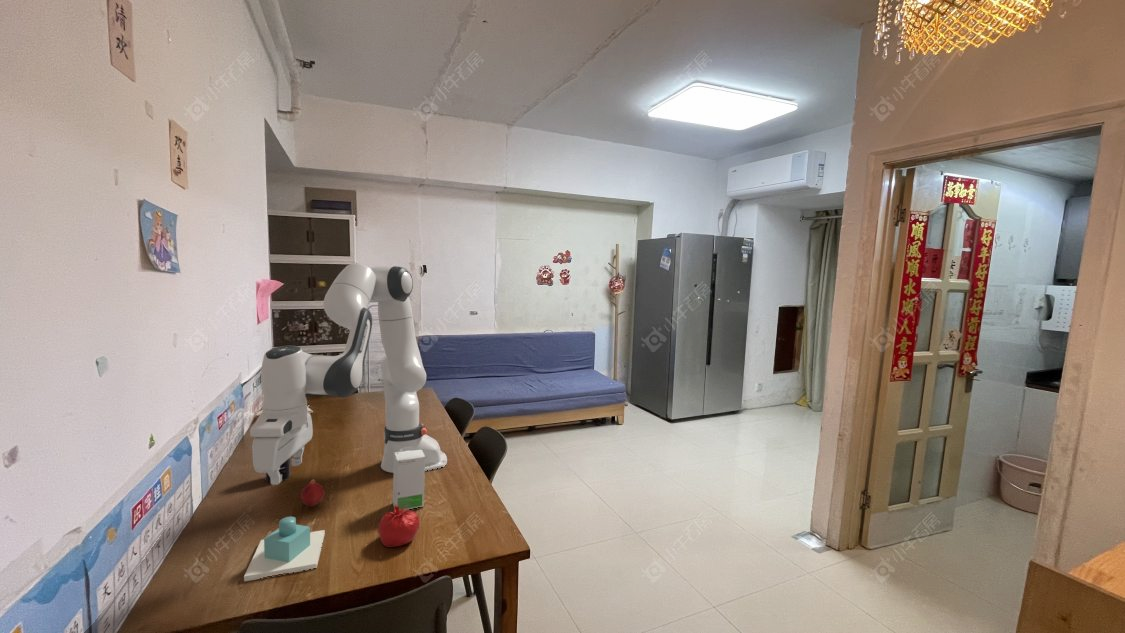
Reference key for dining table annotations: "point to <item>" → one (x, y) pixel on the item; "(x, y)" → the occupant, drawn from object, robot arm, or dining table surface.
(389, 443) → the robot arm
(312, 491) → the onion
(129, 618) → the dining table surface
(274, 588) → the dining table surface
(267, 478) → the supplement bottle
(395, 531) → the pomegranate
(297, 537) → the teal knobbed block
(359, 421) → the dining table surface
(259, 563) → the post stand
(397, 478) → the skincare box
